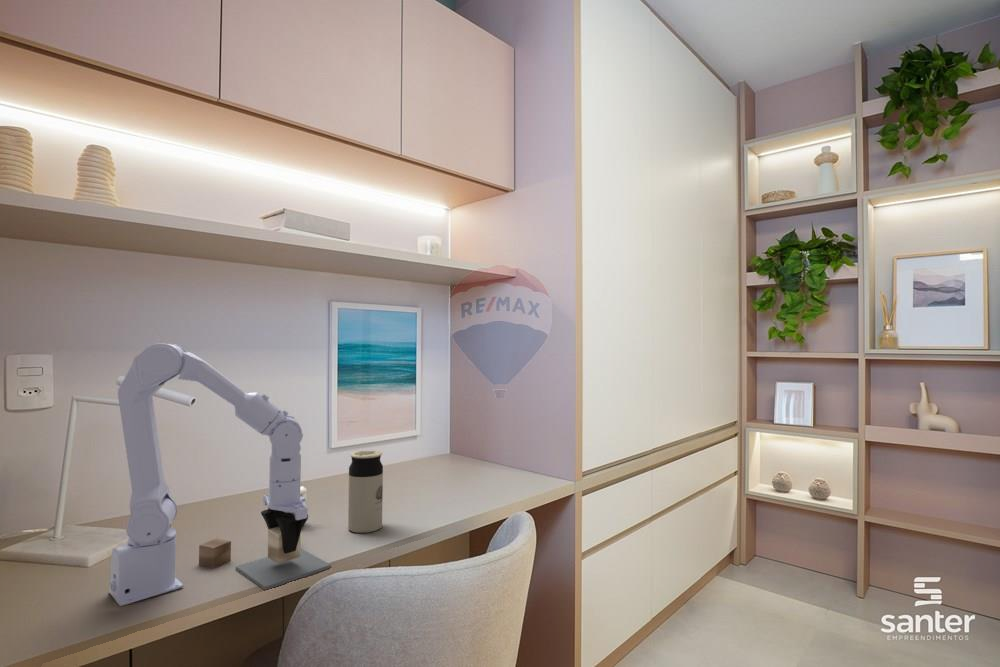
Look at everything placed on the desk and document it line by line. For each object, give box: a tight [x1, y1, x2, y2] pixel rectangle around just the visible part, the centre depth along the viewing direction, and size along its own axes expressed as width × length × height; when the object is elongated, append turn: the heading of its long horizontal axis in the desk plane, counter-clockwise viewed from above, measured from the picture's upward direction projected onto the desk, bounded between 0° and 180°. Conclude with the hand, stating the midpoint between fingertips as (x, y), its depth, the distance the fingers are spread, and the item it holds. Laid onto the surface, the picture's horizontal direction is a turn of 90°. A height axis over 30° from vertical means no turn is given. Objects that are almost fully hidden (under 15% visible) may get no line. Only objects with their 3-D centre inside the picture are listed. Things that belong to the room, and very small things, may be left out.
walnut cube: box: [198, 538, 232, 569], centre depth 105 cm, size 4×4×4 cm
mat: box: [235, 547, 332, 591], centre depth 102 cm, size 13×13×1 cm
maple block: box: [267, 527, 301, 564], centre depth 102 cm, size 4×4×6 cm
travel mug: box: [347, 449, 384, 534], centre depth 125 cm, size 8×8×18 cm
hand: (283, 548), depth 102 cm, fingers open, 4 cm apart
